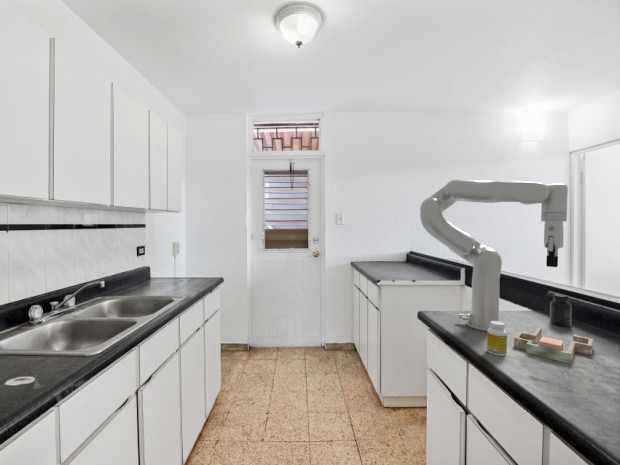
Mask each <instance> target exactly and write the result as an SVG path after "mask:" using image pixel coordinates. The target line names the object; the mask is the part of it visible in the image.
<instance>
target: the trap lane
mask: <svg viewBox="0 0 620 465" xmlns="http://www.w3.org/2000/svg"><path fill="white" fill-rule="evenodd" d="M542 330H543V329H542V327H540V326H538V327H537V328H536V330H535V331H534V333H528V332H524V331H518V332H517V334H515V336H514V339H513V347H515V348H518V349H519V348H520V349H523V350H526V354H530V355H534V356H538V357H543V358H546V359H549V360H554V361H559V362H562V363H566V364H569V365H571V364H572V362H573V359H574V355H575V353H579V354H583V355H589V356H592V354H593V348H594V338H590V337H584V336H580V335H578V334H575V333H574V334H573V335H572V340H570V344H569V346H568V349H567V351H565V350H563V351H561V350H557V349H553V348H548V347H544V346H540V345H539V344H537V343H539V340H540V339H541V337H542Z"/></svg>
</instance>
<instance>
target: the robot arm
mask: <svg viewBox="0 0 620 465" xmlns="http://www.w3.org/2000/svg"><path fill="white" fill-rule="evenodd" d="M568 190H569V189H568V185H566V183H565V184H564V183H551V184H544V183H542V182H536V181H535V182H534V181H512V180H511V181H503V180H502V181H500V180H475V179H474V180H472V179H452V180H450V181H448V182H447V183H446V184H445V185H444V186H443V187H441V189H438V191H436V192H435V193H433V194H431V196H429V197H428V198H426V199H424V201H422V203H421V205H420V208H419V210H420V213H419V214H420V222H421V225H422V227H423V229H424V230H425V231H426V232H427V233H428V234H429V235H430V236H431V237H433V238H434V239H435V240H436V241H438V242H440V243H441V244H442V245H444V246H445V247H447V248H448V249H449V250H450V251H451V252H452V253H454V254H455V255H457V256H459V257H460V258H461V259H463V260H464V261H466V262H467V263H469V264H470V265H471V266H472V276H471V308H470V309H471V311H470V312H469V313H466V314H464V313H458V316H457V317H458V319H459V320H460V319H462V320H463V321H466V325H467V326H468V327H470V328H472V329H475V330H478V331H483V332H488V328H490V322H491V321H499V319H500V318H499V317H500V313H499V312H500V279H501V272H502V267H503V266H502V265H503V264H502V263H503V262H502V261H503V260H502V256H501V254H500V253H499V252H498V251H497V250H496V249H494V248H492V247H489V246H486V245H485V244H483V243H481V242H480V241H478V240H477V239H475V238H474V237H472V235H471V234H470V233H468V232H466V231H463V230H461V229H460V228H459V227H457V226H455V225H454V224H452V223H451V222H450V221H449V220H447V219H446V218H445V217H444V216H443V212H445V211H446V210H448V209H449V208H451V206H454V204H455V203H457V202H466V203H467V202H469V203H483V204H485V203H487V204H495V203H508V202H509V203H513V202H514V203H520V204H523V205H527V206H529V205H534V204H541V210H540V222H544V226H543V227H544V228H543V230H544V231H543V246H544V248H545V249H546V250H547V251H546V262H545V263H546V267H549V268H557V267H558V266H559V256H558V254H559V253H558V252H559V249H562V248H564V222H567V218H568V196H569V195H568V194H569V193H568ZM499 322H500V321H499Z"/></svg>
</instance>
